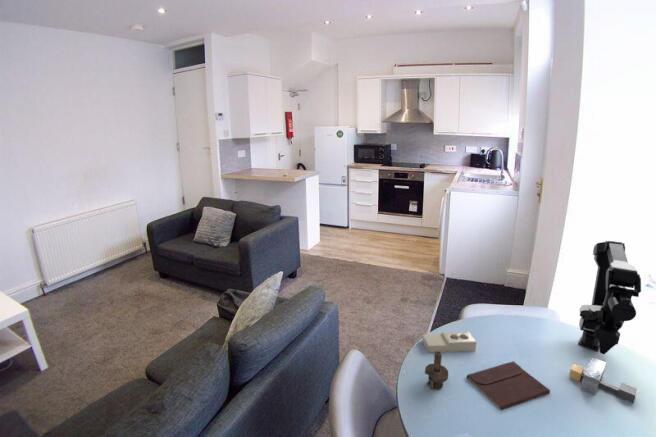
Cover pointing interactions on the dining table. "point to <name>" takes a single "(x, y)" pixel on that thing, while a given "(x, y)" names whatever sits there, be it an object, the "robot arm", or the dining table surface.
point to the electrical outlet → (449, 342)
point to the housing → (593, 375)
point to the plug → (607, 385)
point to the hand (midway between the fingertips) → (604, 346)
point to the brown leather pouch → (508, 385)
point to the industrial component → (436, 372)
